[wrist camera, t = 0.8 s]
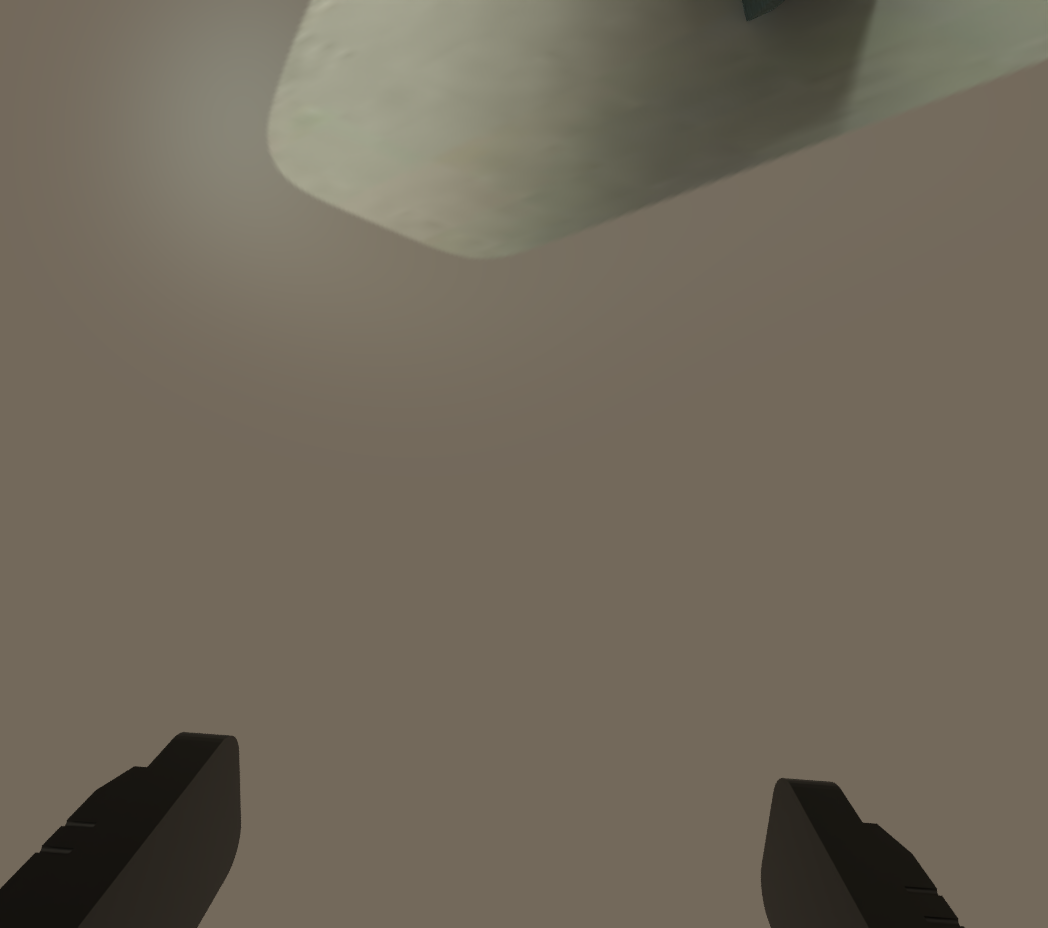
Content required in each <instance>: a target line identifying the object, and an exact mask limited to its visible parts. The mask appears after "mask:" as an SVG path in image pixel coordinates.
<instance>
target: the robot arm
mask: <svg viewBox="0 0 1048 928" xmlns="http://www.w3.org/2000/svg"><path fill="white" fill-rule="evenodd" d="M240 809H241V808H240V771H239V746H238V742H237V739H236V738H235V737H234V736H229V735H214V734H202V733H188V732H182V733H180V734H178V735H176V736H175V737H174V738H173V739H172V740H171V742H170V743H169V744H168V745H167V746H166V747H165V748H164V749H163V750H162V751H161V753H160V754H159V755H158V756H157V757H156V758H155V759H154V760H153V761H152V763H151V764H150V765H149V766H148V767H136V766H135V767H133V768H131V769H130V770H128V771H126V772H125V773H123V774H121V775H120V776H118V777H116V778H115V779H113V780H112V781H110V782H108V783H107V784H105V785H104V786H102V787H100V788H99V789H97V790H96V791H95V792H94V793H93V794H92V795H91V796H90V797H89V798H88V799H87V800H86V801H85V802H84V803H83V804H82V805H81V806H80V807H79V808H78V809H77V810H76V811H75V812H74V813H73V814H72V816H70V817H69V819H68V820H67V823H66V825H65V826H61V827H60V828H59V829H58V830H57V831H56V832H55V833H54V834H53V835H52V836H51V837H50V838H49V839H48V840H47V841H46V842H45V843H44V845H42V849H41V851H40V853H35V854H34V855H33V856H32V857H31V858H30V859H29V860H28V861H27V862H26V863H25V864H24V865H23V866H22V867H21V868H20V869H19V870H18V871H17V872H16V873H15V874H14V875H13V876H12V877H11V878H10V879H9V880H8V881H7V882H6V883H5V884H4V886H3V887H2V888H1V889H0V928H197V927H198V925H199V923H200V922H201V920H202V918H203V916H204V915H205V913H206V911H207V910H208V908H209V906H210V904H211V903H212V901H213V899H214V898H215V896H216V894H217V892H218V891H219V889H220V887H221V885H222V884H223V882H224V880H225V878H226V877H227V875H228V873H229V871H230V868H231V866H232V863H233V861H234V858H235V855H236V852H237V848H238V843H239V838H240V830H241V810H240ZM761 887H762V896H763V901H764V907H765V911H766V915H767V918H768V921H769V923H770V926H771V928H964V927H963V926H960V925H959V923H958V918H957V916H956V915H955V914H954V912H953V911H952V909H951V908H950V906H949V905H948V904H947V902H946V901H945V899H944V898H943V897H942V896H938V894H937V888H936V887H935V885H934V884H933V882H932V881H931V880H930V879H929V877H928V876H927V874H926V873H925V871H924V870H923V869H922V867H921V866H920V864H919V863H918V862H917V860H916V859H915V857H914V856H913V854H912V853H911V852H909V851H908V850H907V849H906V848H905V847H903V846H902V845H901V844H900V843H899V842H898V841H896V840H895V839H894V838H893V837H892V836H891V835H889V834H888V833H887V832H886V831H885V830H884V829H882V828H881V827H880V826H879V825H878V824H872V823H863V822H862V821H861V819H860V818H859V817H858V815H857V813H856V812H855V810H854V809H853V807H852V806H851V804H850V803H849V801H848V800H847V798H846V796H845V795H844V793H843V792H842V790H841V789H840V788H839V786H838V785H836V784H835V783H833V782H826V781H813V780H799V779H785V778H781V779H779V780H778V781H777V783H776V785H775V788H774V792H773V799H772V804H771V811H770V817H769V823H768V829H767V835H766V842H765V848H764V854H763V860H762V868H761Z"/></svg>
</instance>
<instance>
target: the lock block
mask: <svg viewBox="0 0 1048 928" xmlns="http://www.w3.org/2000/svg"><path fill="white" fill-rule="evenodd" d="M783 1H784V0H742V3H743V7H744V11H745V16H746V20H747V21H749V20H752V19H754V18H756V17H758V16H760V15H762V14H765V13H767V12H769V11H771V10H773V9H775V8H776V7H777V6H778V5H779V4H781V3H782V2H783Z"/></svg>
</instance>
